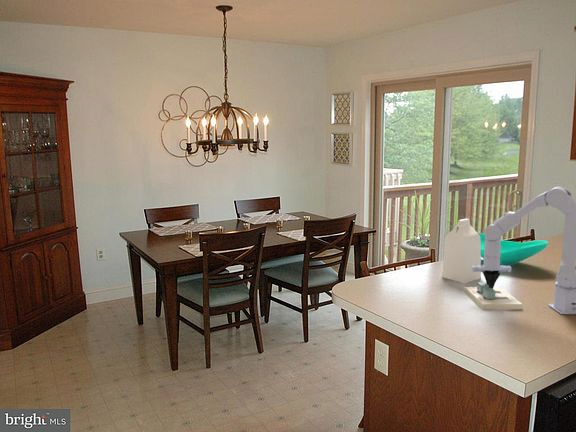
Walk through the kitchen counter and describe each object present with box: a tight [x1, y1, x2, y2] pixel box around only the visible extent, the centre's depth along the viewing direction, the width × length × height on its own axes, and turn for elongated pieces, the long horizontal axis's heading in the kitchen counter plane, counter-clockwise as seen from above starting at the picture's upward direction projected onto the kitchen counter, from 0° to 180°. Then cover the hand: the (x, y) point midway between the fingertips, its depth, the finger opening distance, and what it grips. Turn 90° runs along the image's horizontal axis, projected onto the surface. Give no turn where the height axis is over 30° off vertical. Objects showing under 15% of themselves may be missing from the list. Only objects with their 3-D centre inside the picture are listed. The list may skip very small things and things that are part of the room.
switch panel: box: [464, 286, 523, 310], centre depth 186 cm, size 20×14×2 cm
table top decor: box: [476, 231, 549, 267], centre depth 236 cm, size 40×28×13 cm
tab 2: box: [483, 288, 496, 299], centre depth 182 cm, size 4×3×3 cm
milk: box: [441, 218, 482, 284], centre depth 214 cm, size 12×12×26 cm
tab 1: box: [476, 281, 489, 293], centre depth 189 cm, size 4×3×3 cm
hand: (490, 289), depth 189 cm, fingers closed
